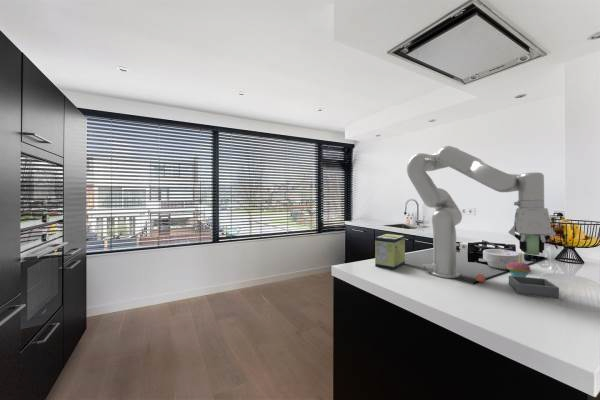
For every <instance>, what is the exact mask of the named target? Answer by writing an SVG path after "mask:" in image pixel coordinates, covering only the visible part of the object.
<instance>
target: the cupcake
mask: <svg viewBox="0 0 600 400" xmlns="http://www.w3.org/2000/svg"><path fill="white" fill-rule="evenodd" d="M519 254H520V257H519V262H515V261H513V262H510V263H508V264H507V265H506V267H507V269H506V270H509V272H510V276H520V277H527V276H528V274H529V273H530V272H531V266H530V265H528V264H526V263H525V262H522V255H523V254H522V253H519Z"/></svg>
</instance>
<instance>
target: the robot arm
mask: <svg viewBox="0 0 600 400" xmlns="http://www.w3.org/2000/svg"><path fill="white" fill-rule="evenodd" d="M445 168H451V169H453V170H455V171H457V172H459V173H460V174H463V175H464V176H466V177H468V178H469V179H472V180H474V181H476V182H478V183H480V184H481V185H484V186H486V187H488V188H490V189H492V190H493V191H496V192H499V193H512V192H518V200H517V201H514V202H513V205H514V206H517V208H516V209H515V214H514V221H513V222H514V223H513V226H512V227H511V229H510V230H509V231H508V232H507V233H508V234H510V235H511V236H513V237H515V238H516V239H517V240H518V241H519V249H520V251H521V252H523V253H524V252H526V242H525V236H526V235H538V236H539V254H543V253H544V251H545V243H546V242H547V241H548V240H549V239H550V238H552V237H554V236H556V235H557V233H556V232H555V230H554V229H553V228H552V227H551V219H550V218H551V217H550V214H549V210H548V208H545V175H544V173H542V172H523V173H519V174H513V173H507V172H505V171H502V170H500V169H498V168H495V167H493V166H491V165H489V164H487V163H485V162H484V161H483V160H482V159H480V158H478V157H476V156H475V155H472V154H470V153H468V152H465V151H464V150H461V149H460V148H457V147H455V146H451V145H445V146H443V147H441V148H440V149H439V150H438V151H437V152H435V153H431V154H430V153H429V154H428V153H422V152H419V153H416V154H414V155H413V156H411V157H410V159H409V161H408V163H407V167H406V173H407V177H408V178H409V181H410V182H411V183H412V185H413V187H414V188H415V191H416V192H417V193H418V195H419V197H420V198H421V201H422V202H423V203H424V205H425V206H427V207H428V208H431V209H432V208H434V209H435V211H434V212H433V214H432V215H431V225H432V235H433V236H432V237H433V238H432V240H433V243H432V246H433V260H432V263H423V264H422V268H423V269H424V268H425V269H426V270H427V269H428V270H429V273H430V274H431V275H433V276H436V277H439V278H443V279H444V278H447V279H457V278H460V276H461V273H460V272H459V271H457V232H456V231H457V230H456V226H458V224H460V223H461V222H462V219H463V213H462V212H461V210H460V209H459V207H458V205H457V204H456V202H455V201H454V199H453V197H452V196H451V194H450V193H449V192H448V191H446V189H443V188H439V187H437V185H436V184H435V181H433V179H432V178H431V177H430V175H429V174H428V173H427V172H433V171H438V170H440V169H445ZM517 233H518V234H517Z"/></svg>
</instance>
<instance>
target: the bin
mask: <svg viewBox="0 0 600 400" xmlns="http://www.w3.org/2000/svg"><path fill="white" fill-rule="evenodd" d="M508 286H509V287H510V288H511V289H512V290H513V291H514V292H515V293H516V294H517V295H520V296H521V295H523V296H529V297H539V298H548V299H550V298H551V299H557V300H558V299H560V287H558V286H557V285H556V284H554V283H552V281H549V280H548V279H546V278H540V277H539V278H538V277H529V276H528V277H527V276H526V277H520V276H511V275H508Z"/></svg>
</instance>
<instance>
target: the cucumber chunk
mask: <svg viewBox="0 0 600 400" xmlns="http://www.w3.org/2000/svg"><path fill="white" fill-rule="evenodd" d="M525 242H526V252H523V253H524V255H525V254H526V255H532V256H538V255H540V252H539V236H538V235H529V234H526V236H525Z"/></svg>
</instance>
